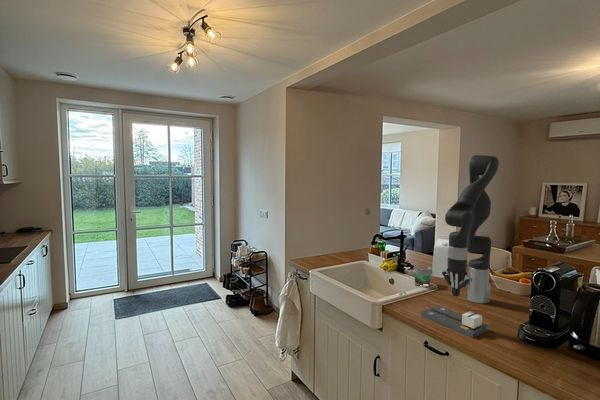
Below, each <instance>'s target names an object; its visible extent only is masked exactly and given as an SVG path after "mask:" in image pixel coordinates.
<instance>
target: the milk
mask: <svg viewBox="0 0 600 400" xmlns="http://www.w3.org/2000/svg"><path fill="white" fill-rule="evenodd" d="M436 239H437V240H436V242H435V244H434V246H433V254H432V255H433V256H432V265H431V269H432V273H431V277H435V278H441V279H445V278H444V276H443V274H442V272H444V271H446V270H447V268H448V266H447V262H448V248H449V235H448V234H439V235H438V237H437V238H436Z"/></svg>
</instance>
